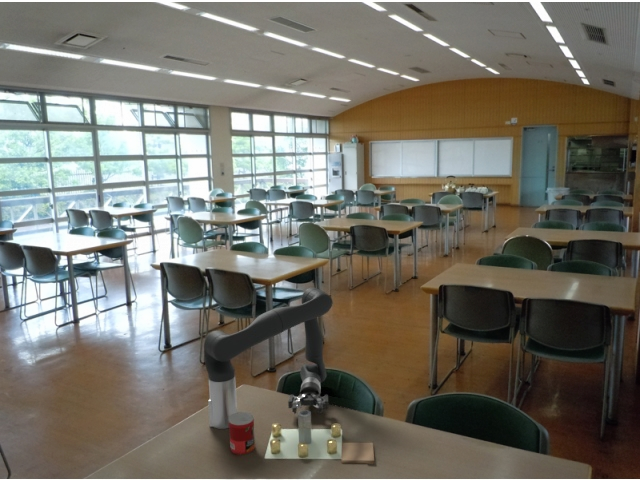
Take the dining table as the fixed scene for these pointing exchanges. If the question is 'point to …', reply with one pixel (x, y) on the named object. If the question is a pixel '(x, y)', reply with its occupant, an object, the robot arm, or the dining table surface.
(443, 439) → the dining table surface
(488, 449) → the dining table surface
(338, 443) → the parts mat
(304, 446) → the spacers
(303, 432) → the grey hexagonal metal post
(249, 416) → the canned food
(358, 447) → the tray
